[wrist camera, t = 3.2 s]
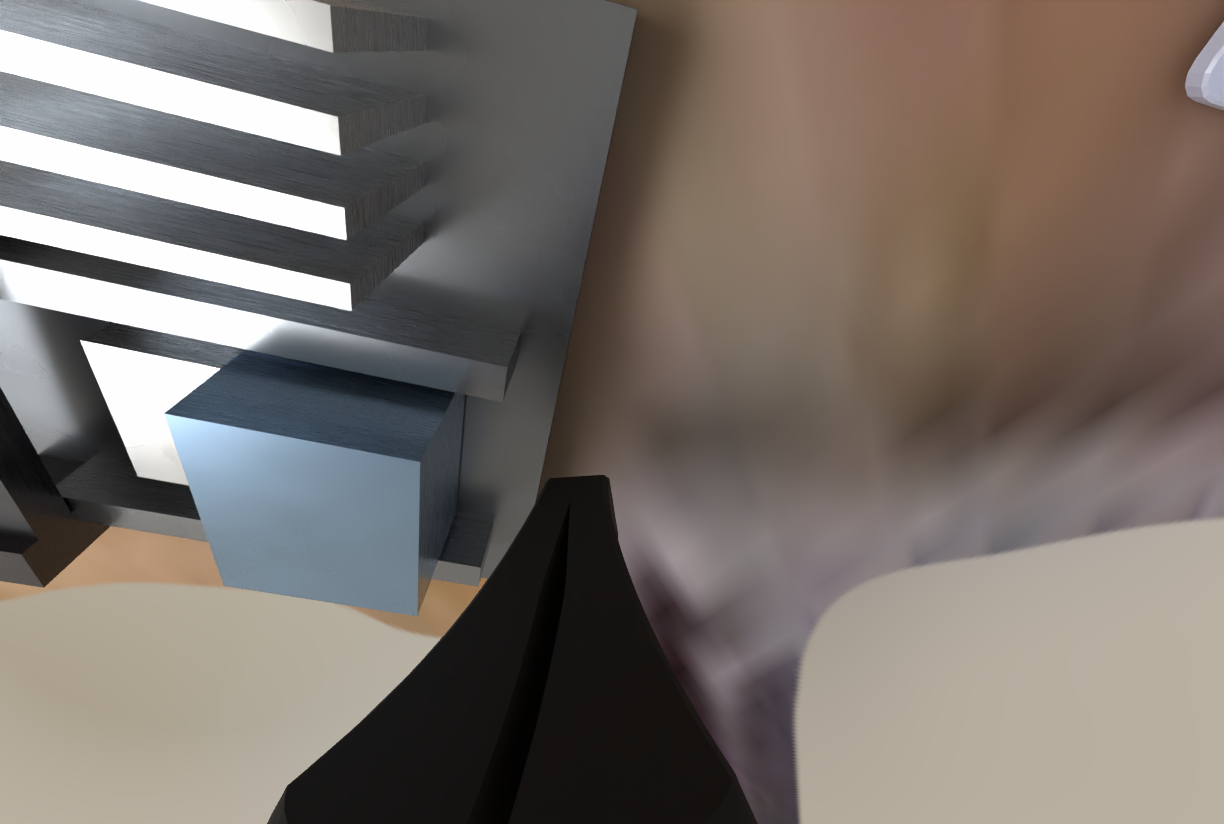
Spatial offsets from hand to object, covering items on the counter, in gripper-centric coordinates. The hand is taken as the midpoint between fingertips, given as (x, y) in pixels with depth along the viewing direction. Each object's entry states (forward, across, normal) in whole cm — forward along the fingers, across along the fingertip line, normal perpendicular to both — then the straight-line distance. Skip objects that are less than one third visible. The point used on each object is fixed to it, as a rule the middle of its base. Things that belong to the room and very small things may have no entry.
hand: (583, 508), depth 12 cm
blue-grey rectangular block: (+1, +6, -2) cm, 7 cm away
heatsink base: (+2, +7, -5) cm, 9 cm away
